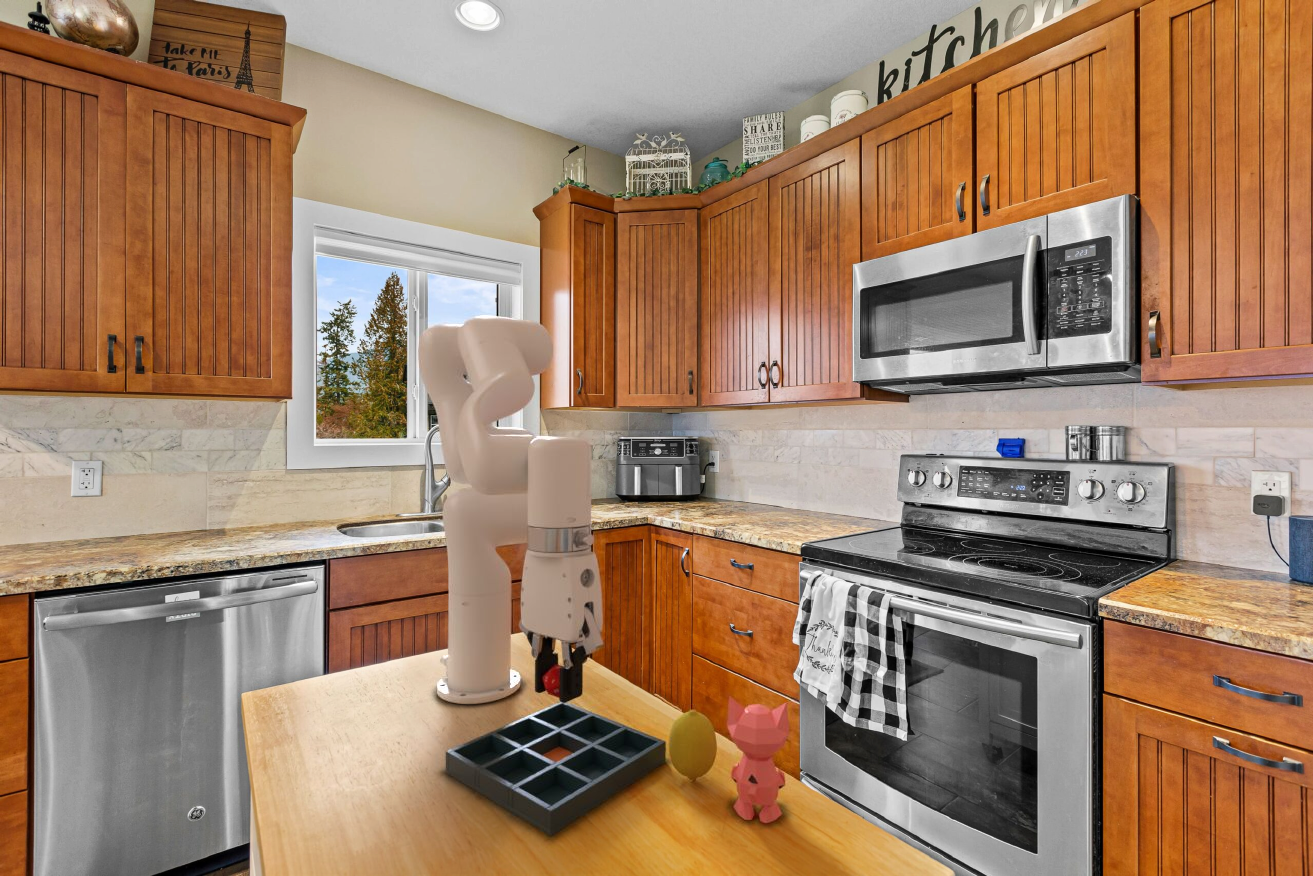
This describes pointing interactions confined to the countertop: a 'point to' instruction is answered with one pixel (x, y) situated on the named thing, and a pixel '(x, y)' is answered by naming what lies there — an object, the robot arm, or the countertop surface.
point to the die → (552, 680)
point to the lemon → (692, 744)
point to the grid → (555, 764)
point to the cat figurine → (757, 757)
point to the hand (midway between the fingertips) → (558, 692)
